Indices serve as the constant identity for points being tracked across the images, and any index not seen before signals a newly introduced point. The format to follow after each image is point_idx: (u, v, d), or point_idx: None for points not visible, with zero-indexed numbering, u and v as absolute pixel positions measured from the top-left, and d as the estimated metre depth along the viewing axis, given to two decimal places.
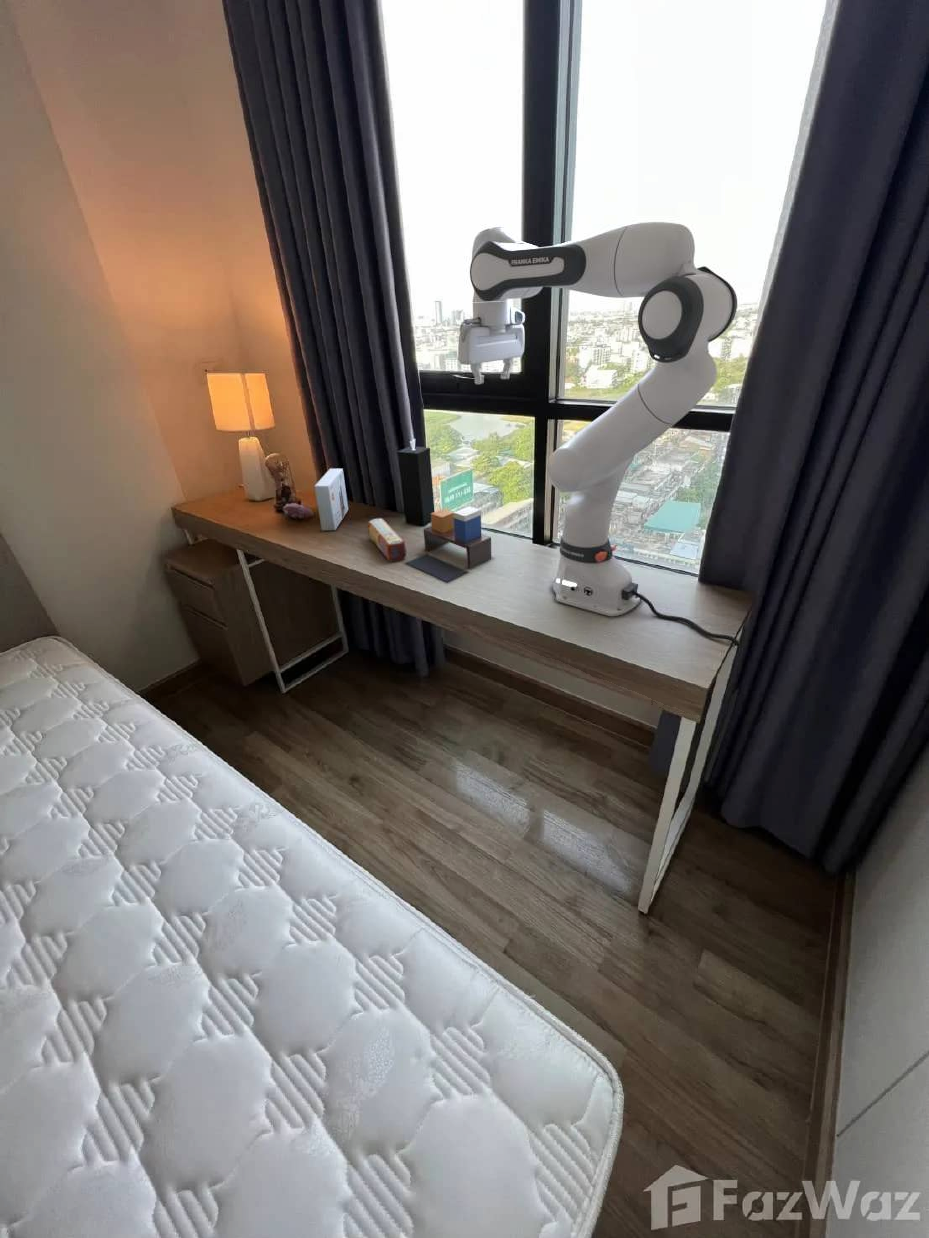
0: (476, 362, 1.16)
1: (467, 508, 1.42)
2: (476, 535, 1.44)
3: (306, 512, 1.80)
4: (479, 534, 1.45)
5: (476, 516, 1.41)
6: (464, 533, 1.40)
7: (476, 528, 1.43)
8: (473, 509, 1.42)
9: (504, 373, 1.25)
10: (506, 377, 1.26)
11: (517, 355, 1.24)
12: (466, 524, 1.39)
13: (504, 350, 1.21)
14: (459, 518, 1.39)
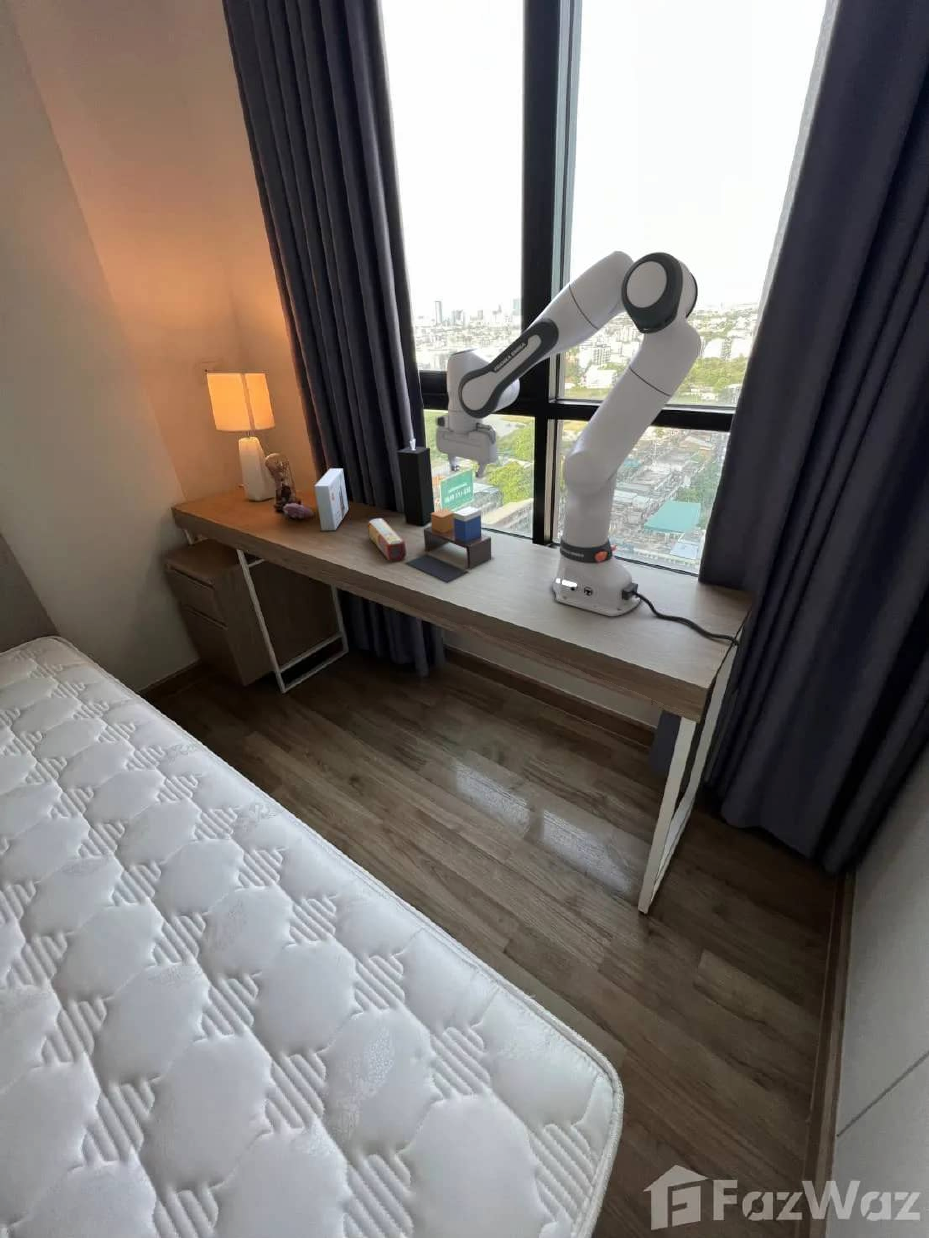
0: None
1: (467, 508, 1.42)
2: (476, 535, 1.44)
3: (306, 512, 1.80)
4: (479, 534, 1.45)
5: (476, 516, 1.41)
6: (464, 533, 1.40)
7: (476, 528, 1.43)
8: (473, 509, 1.42)
9: (457, 466, 1.37)
10: None
11: None
12: (466, 524, 1.39)
13: None
14: (459, 518, 1.39)
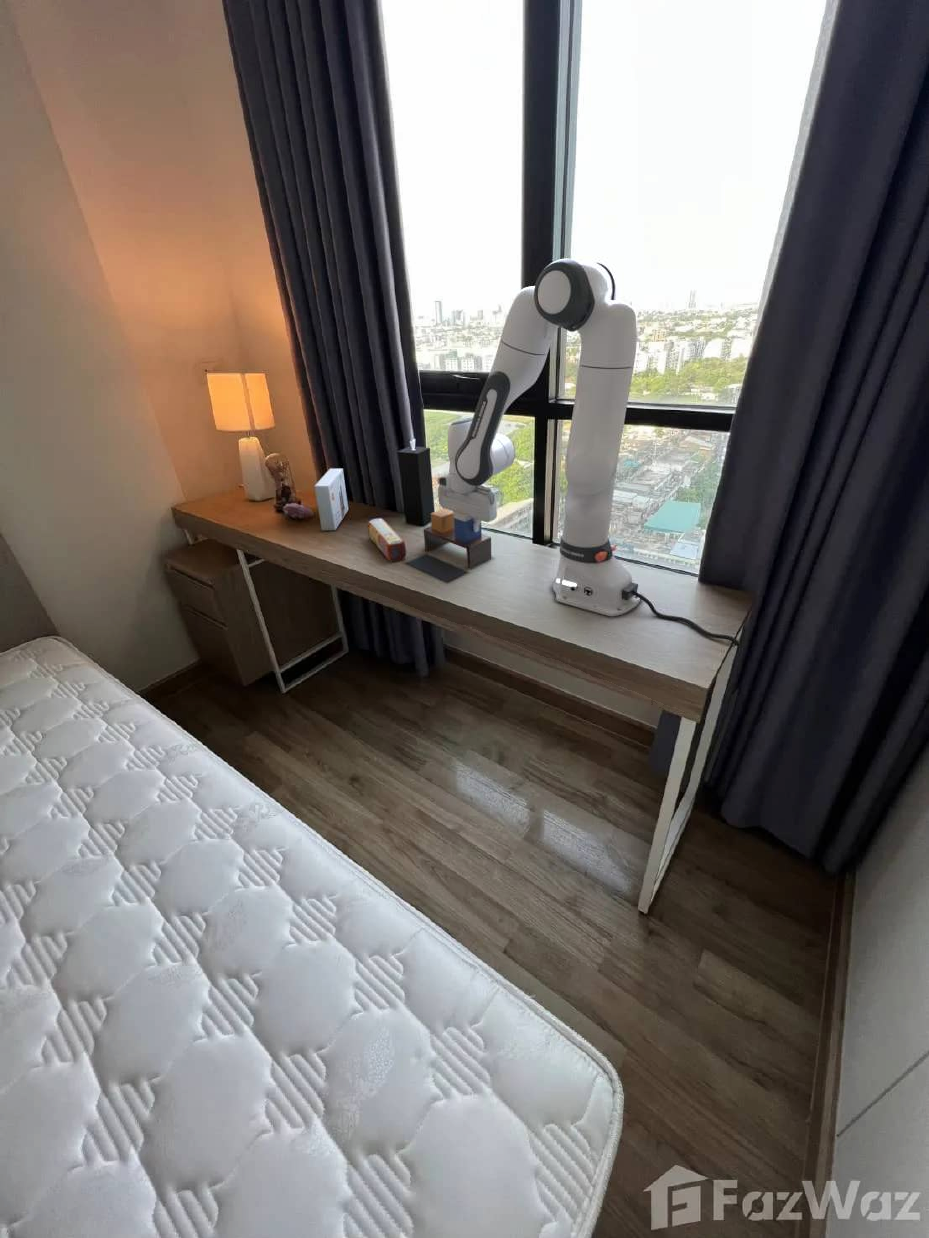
0: None
1: None
2: (476, 535, 1.44)
3: (306, 512, 1.80)
4: (479, 534, 1.45)
5: None
6: (464, 533, 1.40)
7: None
8: None
9: None
10: None
11: None
12: (467, 524, 1.39)
13: None
14: (459, 518, 1.39)
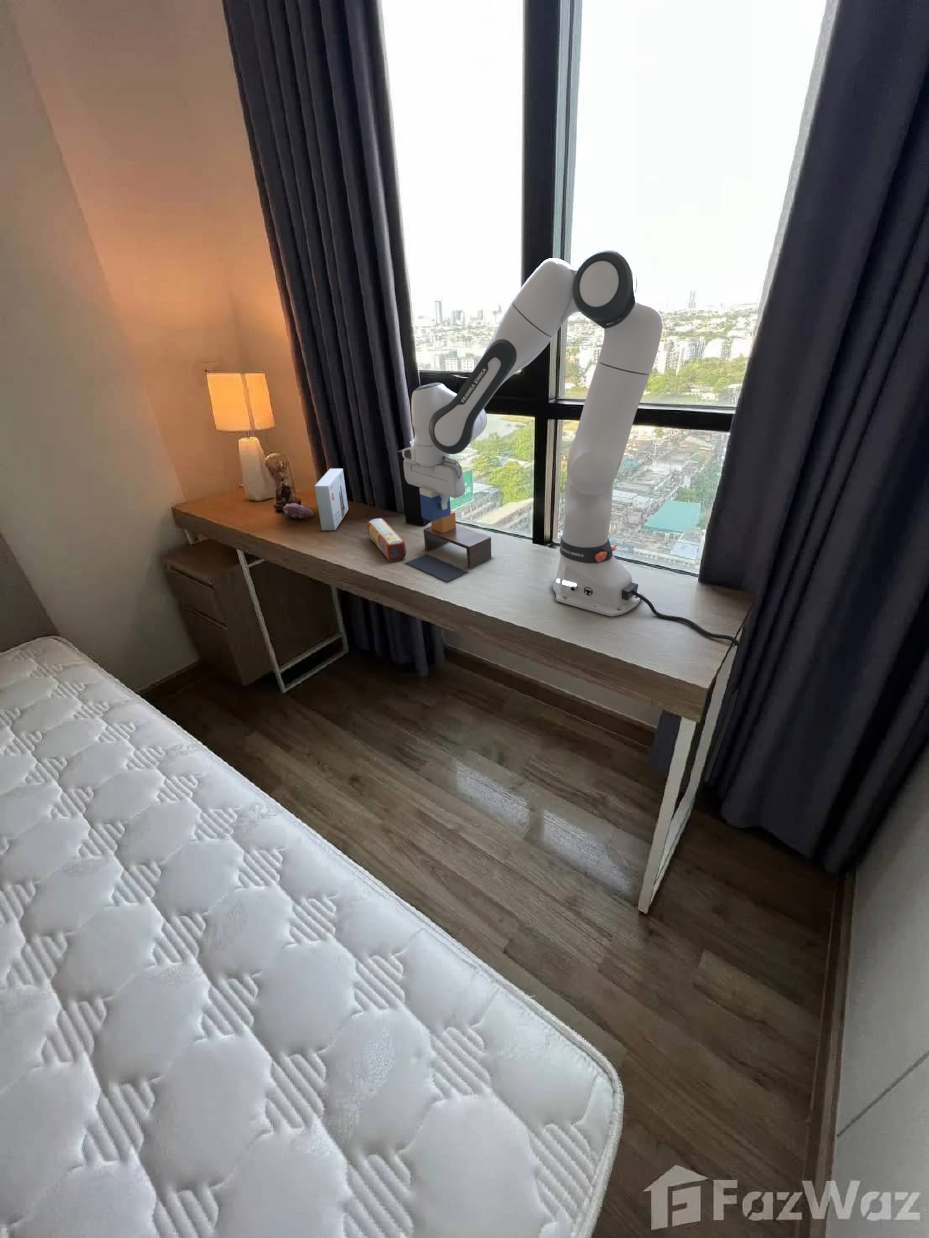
0: None
1: None
2: (445, 513, 1.33)
3: (306, 512, 1.80)
4: (448, 512, 1.34)
5: None
6: (431, 511, 1.30)
7: None
8: None
9: None
10: None
11: None
12: (433, 501, 1.29)
13: None
14: (425, 494, 1.29)
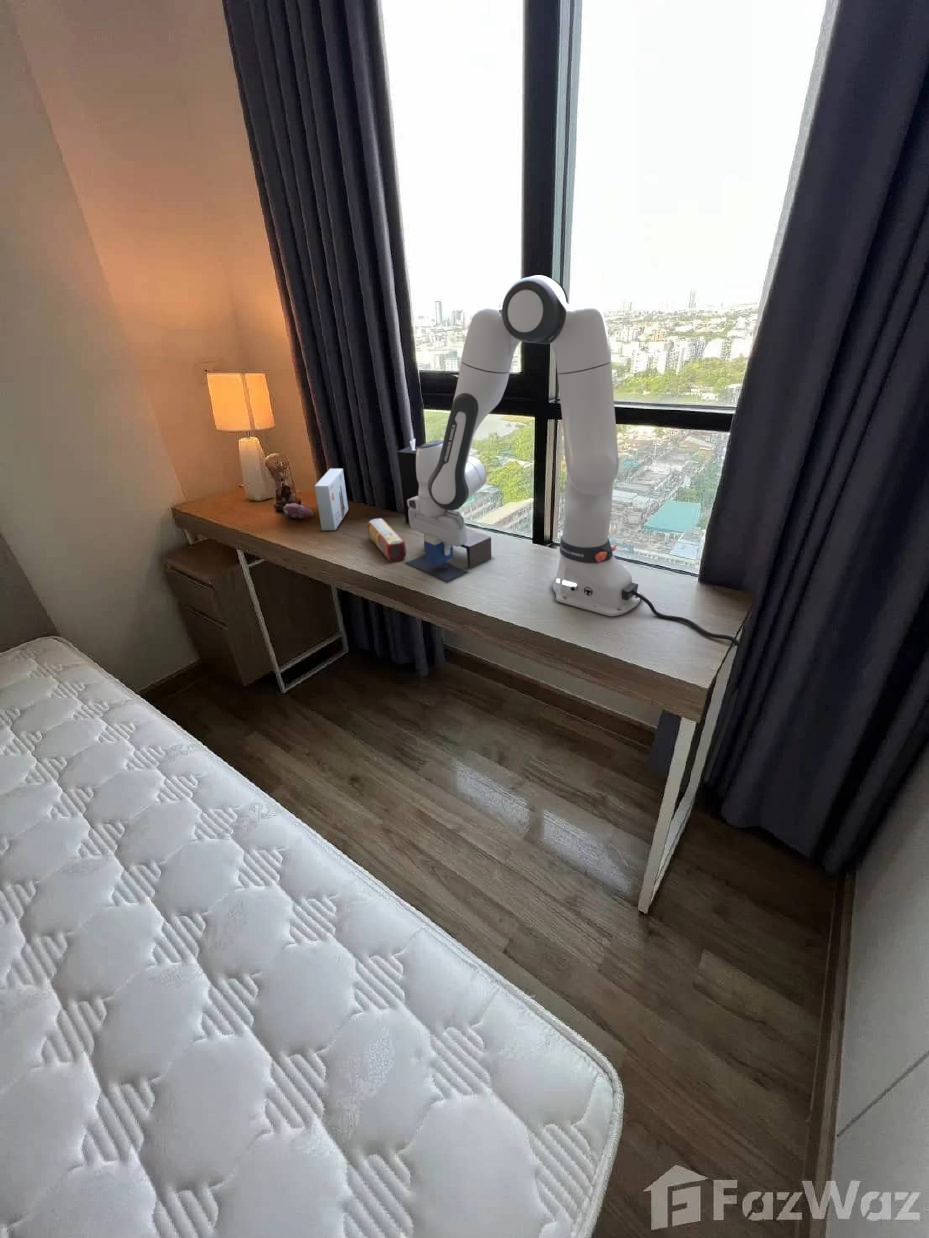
0: None
1: None
2: (447, 558, 1.40)
3: (306, 512, 1.80)
4: (451, 557, 1.41)
5: None
6: (434, 557, 1.37)
7: None
8: None
9: None
10: None
11: None
12: (437, 548, 1.36)
13: None
14: (429, 541, 1.36)
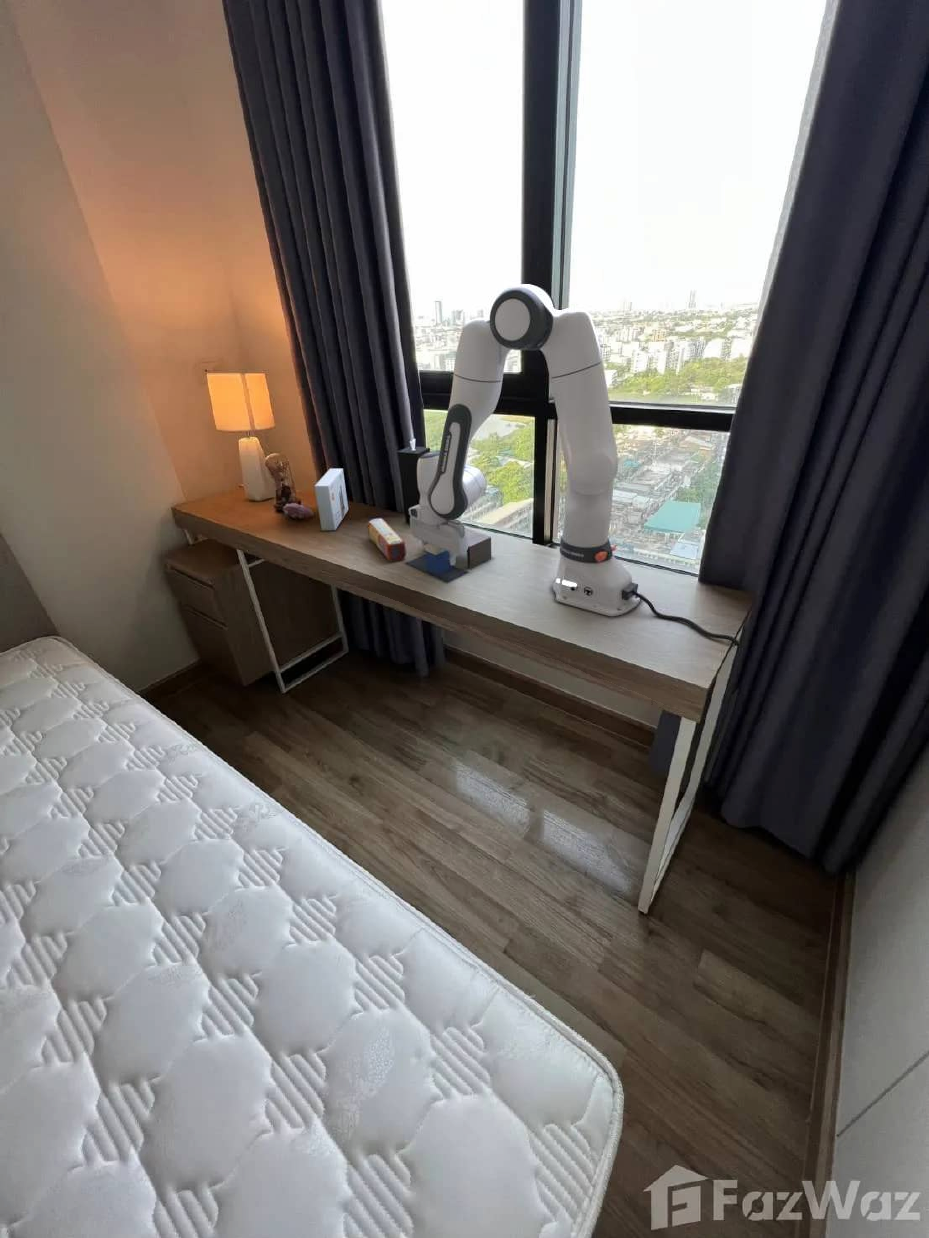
0: None
1: None
2: (448, 567, 1.42)
3: (306, 512, 1.80)
4: (451, 566, 1.43)
5: None
6: (435, 566, 1.39)
7: None
8: None
9: None
10: None
11: None
12: (438, 557, 1.37)
13: None
14: (430, 551, 1.37)
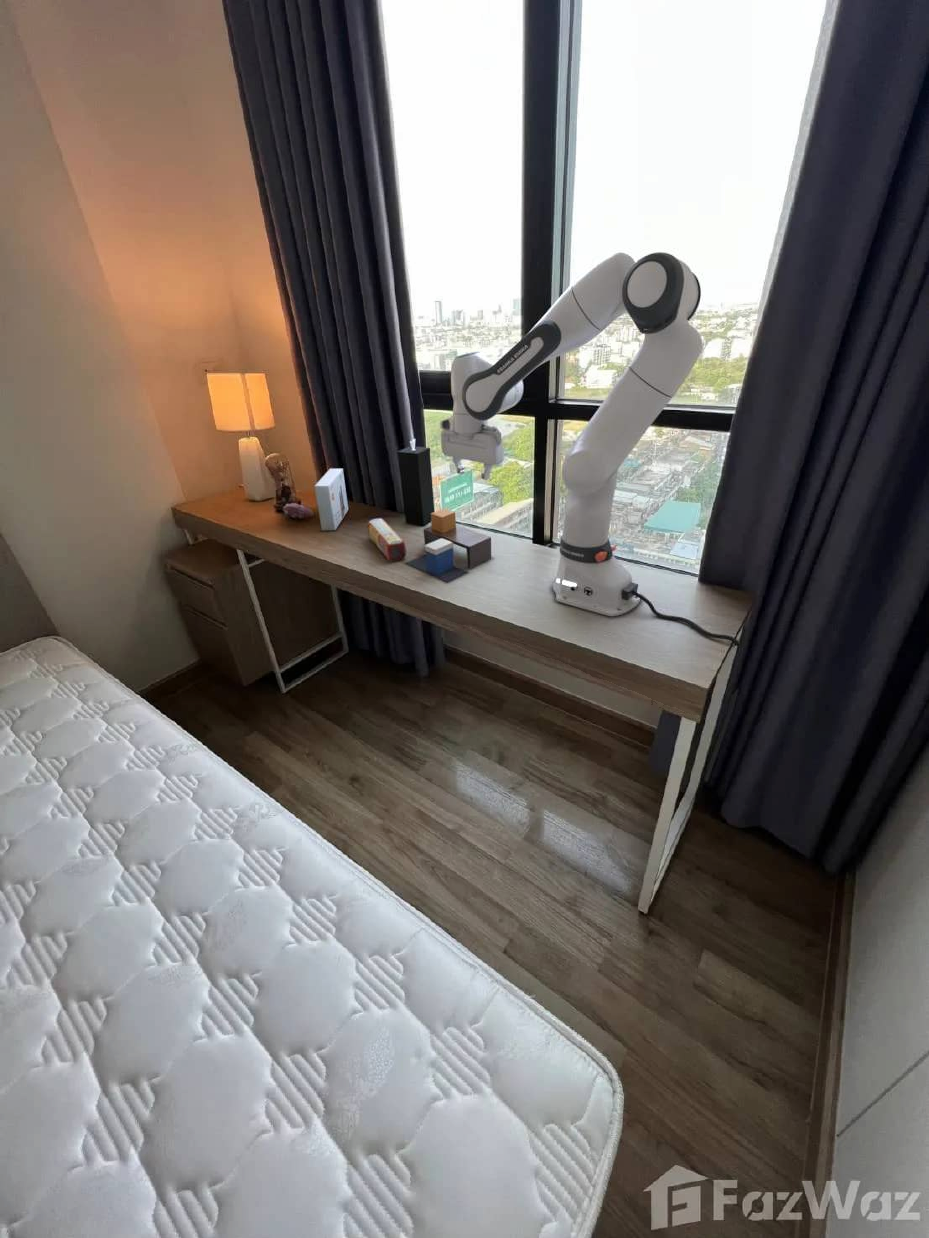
0: None
1: (439, 540, 1.41)
2: (448, 567, 1.42)
3: (306, 512, 1.80)
4: (451, 566, 1.43)
5: (448, 549, 1.39)
6: (435, 566, 1.39)
7: (448, 561, 1.41)
8: (445, 541, 1.40)
9: (463, 468, 1.38)
10: None
11: None
12: (438, 557, 1.37)
13: None
14: (430, 551, 1.37)
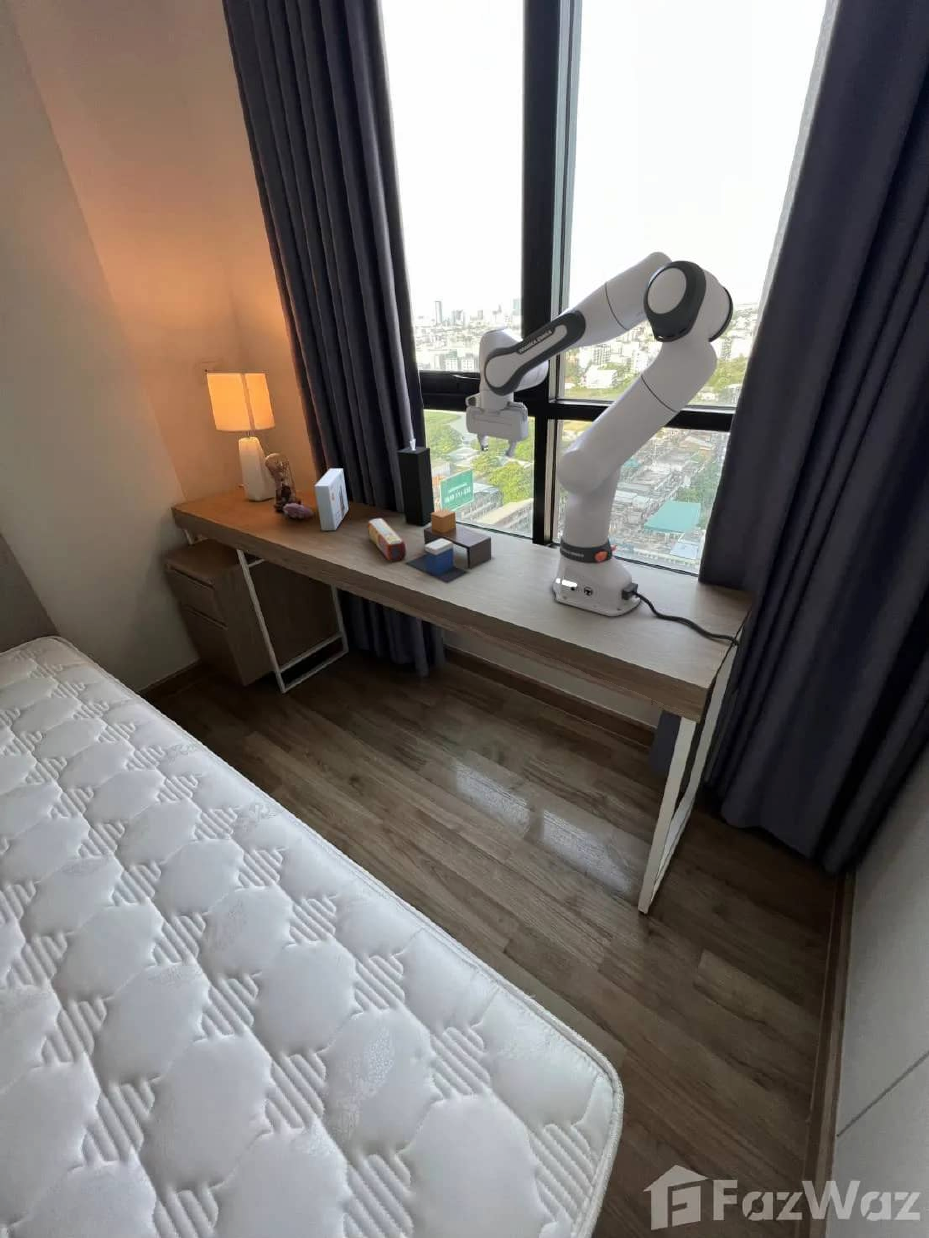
0: None
1: (439, 540, 1.41)
2: (448, 567, 1.42)
3: (306, 512, 1.80)
4: (451, 566, 1.43)
5: (448, 549, 1.39)
6: (435, 566, 1.39)
7: (448, 561, 1.41)
8: (445, 541, 1.40)
9: (487, 446, 1.40)
10: None
11: None
12: (438, 557, 1.37)
13: None
14: (430, 551, 1.37)
